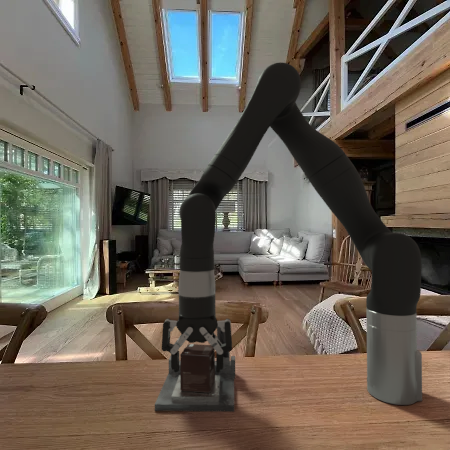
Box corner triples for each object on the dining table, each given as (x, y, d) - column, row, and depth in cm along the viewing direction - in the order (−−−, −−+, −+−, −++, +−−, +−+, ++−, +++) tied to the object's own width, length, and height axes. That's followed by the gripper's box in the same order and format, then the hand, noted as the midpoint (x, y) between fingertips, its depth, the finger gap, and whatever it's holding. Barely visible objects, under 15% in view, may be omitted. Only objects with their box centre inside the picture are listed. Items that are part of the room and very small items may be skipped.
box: (209, 393, 63) (209, 356, 63) (179, 391, 64) (179, 354, 64) (215, 379, 69) (215, 344, 69) (188, 377, 70) (188, 343, 70)
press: (235, 373, 76) (235, 355, 76) (235, 411, 60) (235, 389, 60) (170, 372, 77) (170, 355, 77) (154, 410, 61) (154, 388, 61)
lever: (229, 359, 77) (229, 322, 77) (229, 364, 73) (229, 326, 74) (217, 359, 77) (216, 322, 77) (216, 364, 73) (216, 326, 74)
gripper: (231, 288, 70) (232, 363, 70) (166, 288, 70) (166, 363, 70) (231, 295, 62) (232, 379, 62) (158, 295, 63) (158, 379, 63)
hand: (197, 371), depth 66 cm, fingers open, 8 cm apart
